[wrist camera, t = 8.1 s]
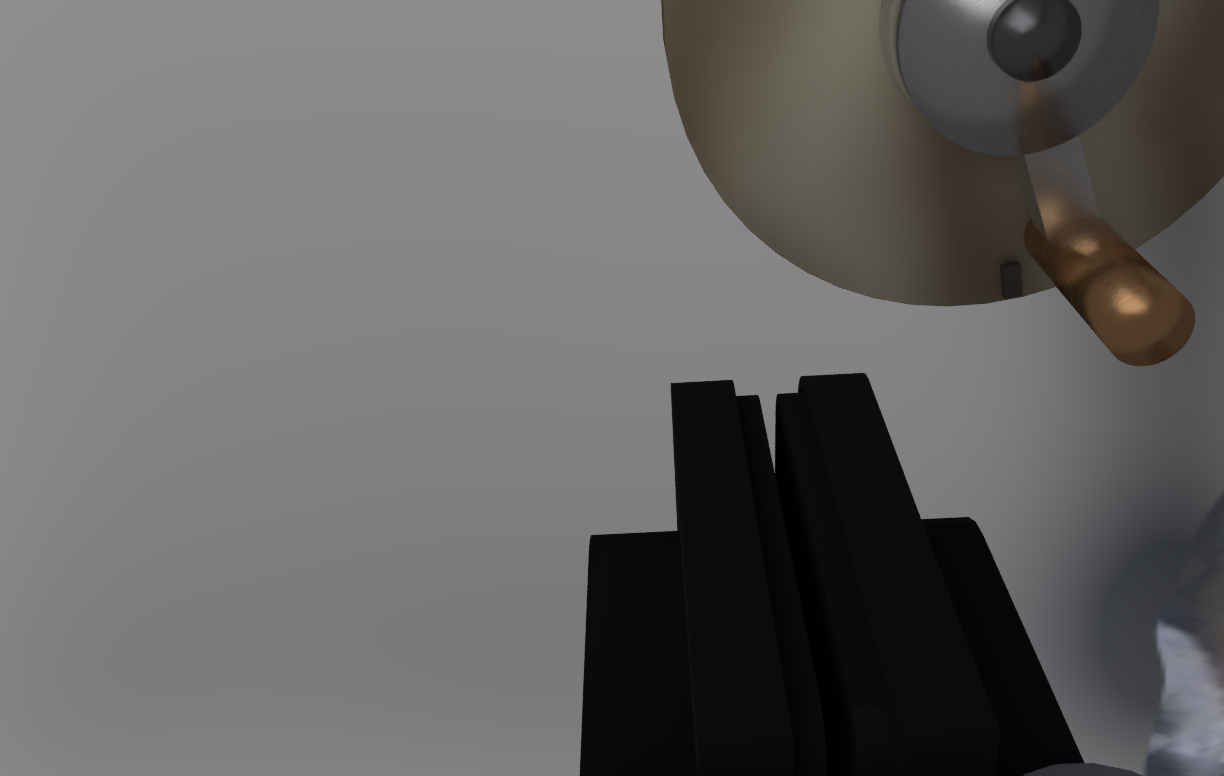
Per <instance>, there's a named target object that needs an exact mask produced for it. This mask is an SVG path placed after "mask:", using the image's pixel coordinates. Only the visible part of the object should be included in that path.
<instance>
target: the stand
mask: <svg viewBox="0 0 1224 776" xmlns="http://www.w3.org/2000/svg"><path fill="white" fill-rule="evenodd" d="M881 2H882V0H661V3H662V22H663V40H664V45H665V50H666V56H667V62H668V67H669V72H670V78H671V83H672V88H673V93H674V98H675V101H676V104H677V107H678V110H679V114H680V117H681V120H682V123H683V126H684V129H685V132H686V135H687V137H688V139H689V141H690V144H691V146H692V148H693V150H694V152H695V154H696V156H697V158H698V160H699V162H700V164H701V166H702V168H703V170H704V172H705V173H706V175H707V177H708V178H709V180H710V181H711V182H712V184H713V186H714V187H715V189H716V190H717V192H718V193H719V195H720V196H721V197H722V199H723V201H724V202H725V203H726V204H727V205H728V207H729V208H730V209H731V210H732V211H733V212H734V213H735V215H736V216H737V217H738V218H739V219H740V220H741V221H742V222H743V223H744V225H745V226H746V227H747V228H748V229H749V230H750V231H751V232H752V233H754V234H755V235H756V236H757V237H758V238H759V239H761V240H762V241H763V242H764V243H765V244H766V245H768V246H769V247H770V248H771V249H772V250H774V251H775V252H776V253H777V254H779V255H780V256H782V257H783V258H785V259H787V260H788V261H790V262H791V263H793V264H795V265H796V266H798V267H799V268H801V269H803V270H804V271H806V272H807V273H809V274H812V275H814V276H816V277H818V278H820V279H822V280H824V281H827V282H829V283H831V284H833V285H835V286H838V287H840V288H843V289H846V290H849V291H853V292H856V293H859V294H862V295H866V296H869V297H872V298H876V299H882V300H889V301H893V302H899V303H905V304H913V305H932V306H958V305H972V304H986V303H991V302H996V301H1002V300H1007V299H1012V298H1018V297H1024V296H1027V295H1030V294H1033V293H1037V292H1040V291H1043V290H1047V289H1050V288H1053V287H1056V286H1055V285H1054V283H1053V282H1052V281H1051V280H1050V279H1049V277H1048V276H1047V275H1046V274H1045V273H1044V272H1043V270H1042V269H1041V268H1040V267H1039V266H1038V264H1037V263H1036V262H1035V261H1034V260H1033V258H1032V257H1031V256H1030V255H1029V254H1028V252H1027V250H1026V248H1025V245H1024V231H1025V228H1026V225H1027V223H1028V221H1029V219H1030V218H1031V215H1030V211H1029V208H1028V204H1027V201H1026V197H1025V194H1024V190H1023V187H1022V183H1021V180H1020V176H1019V173H1018V169H1017V165H1016V162H1015V158H1014V156H1001V155H990V154H984V153H979V152H976V151H973V150H969V149H966V148H964V147H962V146H960V145H958V144H956V143H953V142H952V141H950V140H949V139H947V138H946V137H944V136H943V135H941V134H940V133H939V132H938V131H937V130H936V129H934V128H933V127H932V126H931V125H930V124H929V123H928V122H927V120H926V119H925V118H924V117H923V116H922V115H921V114H920V112H919V111H918V110H917V109H916V108H915V107H914V105H913V104H912V103H911V102H910V101H909V100H908V99H907V97H906V96H905V95H904V94H903V92H902V91H901V90H900V89H899V88H898V86H897V85H896V83H895V81H894V80H893V78H892V76H891V75H890V72H889V70H888V68H887V65H886V63H885V60H884V56H883V52H882V48H881V42H880V33H879V21H880V9H881ZM1079 136H1080V140H1081V144H1082V148H1083V152H1084V156H1085V160H1086V164H1087V168H1088V172H1089V176H1090V180H1091V184H1092V188H1093V192H1094V196H1095V200H1096V204H1097V208H1098V212H1099V216H1100V217H1101V218H1102V219H1103V220H1104V221H1105V222H1106V223H1107V224H1108V225H1109V226H1110V227H1111V228H1112V229H1113V230H1114V231H1115V232H1116V233H1118V234H1119V235H1120V236H1121V237H1122V238H1123V239H1124V240H1125V241H1126V242H1127V243H1128V244H1129V245H1130V246H1131V247H1132V248H1133V249H1134V250H1135V249H1136V248H1138V247H1139V246H1141V245H1142V244H1144V243H1145V242H1147V241H1148V240H1150V239H1151V238H1152V237H1154V236H1155V235H1157V234H1158V233H1160V232H1161V231H1162V230H1164V229H1165V228H1167V227H1168V226H1170V225H1171V224H1172V223H1174V222H1175V221H1176V220H1177V219H1178V218H1179V217H1181V216H1182V215H1183V214H1184V213H1185V212H1186V211H1188V210H1189V209H1190V208H1191V207H1192V206H1193V205H1195V204H1196V203H1197V202H1198V201H1199V200H1200V199H1201V198H1203V197H1204V196H1205V195H1206V194H1207V193H1208V192H1209V191H1210V190H1211V189H1212V188H1213V187H1214V185H1216V183H1217V182H1218V181H1219V180H1220V179H1221V178H1222V177H1223V176H1224V0H1159V16H1158V24H1157V29H1156V33H1155V37H1154V41H1153V44H1152V47H1151V50H1150V52H1149V55H1148V57H1147V60H1146V62H1145V64H1144V66H1143V68H1142V70H1141V71H1140V73H1139V75H1138V77H1137V79H1136V80H1135V82H1134V83H1133V85H1132V86H1131V87H1130V89H1129V90H1128V92H1127V93H1126V94H1125V95H1124V97H1123V98H1122V99H1121V100H1120V101H1119V103H1118V104H1117V105H1116V106H1115V107H1114V108H1113V109H1112V110H1111V111H1110V112H1109V113H1108V114H1107V115H1106V116H1105V117H1103V118H1102V119H1101V120H1100V121H1098V122H1097V123H1096V124H1095V125H1093V126H1092V127H1091V128H1089V129H1088V130H1086V131H1085V132H1083V133H1081V134H1080V135H1079Z"/></svg>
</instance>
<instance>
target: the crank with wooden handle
mask: <svg viewBox="0 0 1224 776" xmlns="http://www.w3.org/2000/svg"><path fill="white" fill-rule="evenodd" d="M1158 16H1159V0H882V2H881V9H880V21H879V33H880V42H881V48H882V52H883V56H884V60H885V63H886V65H887V68H888V70H889V72H890V75H891V76H892V78H893V80H894V81H895V83H896V85H897V86H898V88H899V89H900V90H901V91H902V92H903V94H904V95H905V96H906V97H907V99H908V100H909V101H910V102H911V103H912V104H913V105H914V107H915V108H916V109H917V110H918V111H919V112H920V114H921V115H922V116H923V117H924V118H925V119H926V120H927V122H928V123H929V124H930V125H931V126H932V127H933V128H934V129H936V130H937V131H938V132H939V133H940V134H941V135H943V136H944V137H946V138H947V139H949V140H950V141H952V142H953V143H956V144H958V145H960V146H962V147H964V148H966V149H969V150H973V151H976V152H979V153H984V154H990V155H1001V156H1014V158H1015V162H1016V165H1017V169H1018V173H1019V176H1020V180H1021V183H1022V187H1023V190H1024V194H1025V197H1026V201H1027V204H1028V208H1029V211H1030V215H1031V218H1030V219H1029V221H1028V223H1027V225H1026V228H1025V231H1024V245H1025V248H1026V250H1027V252H1028V254H1029V255H1030V256H1031V257H1032V258H1033V260H1034V261H1035V262H1036V263H1037V264H1038V266H1039V267H1040V268H1041V269H1042V270H1043V272H1044V273H1045V274H1046V275H1047V276H1048V277H1049V279H1050V280H1051V281H1052V282H1053V283H1054V285H1055V286H1056V287H1057V288H1058V289H1059V291H1060V292H1061V293H1062V294H1063V295H1064V296H1065V298H1066V299H1067V300H1068V301H1069V302H1070V304H1071V305H1072V306H1073V307H1074V308H1075V310H1076V311H1077V312H1078V313H1079V314H1080V316H1081V317H1082V318H1083V319H1084V320H1085V322H1086V323H1087V324H1088V325H1089V326H1090V327H1091V329H1092V330H1093V331H1094V332H1095V334H1096V335H1097V336H1098V337H1099V338H1100V339H1101V340H1102V342H1103V343H1104V344H1105V345H1106V347H1107V348H1108V349H1109V350H1110V351H1111V353H1112V354H1113V355H1114V356H1115V357H1116V358H1117V359H1118V360H1120V361H1121V362H1124V363H1126V364H1129V365H1133V366H1148V365H1153V364H1157V363H1160V362H1162V361H1164V360H1166V359H1168V358H1170V357H1171V356H1173V355H1174V354H1176V353H1177V352H1178V351H1179V350H1180V349H1181V348H1182V347H1183V346H1184V345H1185V344H1186V342H1187V341H1188V339H1189V338H1190V336H1191V334H1192V331H1193V328H1194V323H1195V314H1194V310H1193V307H1192V305H1191V304H1190V302H1189V301H1188V300H1187V299H1186V298H1185V297H1184V296H1183V295H1182V294H1181V293H1180V292H1179V291H1178V290H1177V289H1175V287H1174V286H1173V285H1171V284H1170V283H1169V282H1168V281H1167V280H1166V279H1165V278H1164V277H1163V276H1162V275H1161V274H1160V273H1159V272H1158V271H1157V270H1155V268H1154V267H1152V266H1151V265H1150V264H1149V263H1148V262H1147V261H1146V260H1145V259H1144V258H1143V257H1142V256H1141V255H1140V254H1139V253H1138V252H1136V251H1135V250H1134V249H1133V248H1132V247H1131V246H1130V245H1129V244H1128V243H1127V242H1126V241H1125V240H1124V239H1123V238H1122V237H1121V236H1120V235H1119V234H1118V233H1116V232H1115V231H1114V230H1113V229H1112V228H1111V227H1110V226H1109V225H1108V224H1107V223H1106V222H1105V221H1104V220H1103V219H1102V218H1101V217H1100V216H1099V212H1098V208H1097V204H1096V200H1095V196H1094V192H1093V188H1092V184H1091V180H1090V176H1089V172H1088V168H1087V164H1086V160H1085V156H1084V152H1083V148H1082V144H1081V140H1080V136H1079V135H1080V134H1081V133H1083V132H1085V131H1086V130H1088V129H1089V128H1091V127H1092V126H1093V125H1095V124H1096V123H1097V122H1098V121H1100V120H1101V119H1102V118H1103V117H1105V116H1106V115H1107V114H1108V113H1109V112H1110V111H1111V110H1112V109H1113V108H1114V107H1115V106H1116V105H1117V104H1118V103H1119V101H1120V100H1121V99H1122V98H1123V97H1124V95H1125V94H1126V93H1127V92H1128V90H1129V89H1130V87H1131V86H1132V85H1133V83H1134V82H1135V80H1136V79H1137V77H1138V75H1139V73H1140V71H1141V70H1142V68H1143V66H1144V64H1145V62H1146V60H1147V57H1148V55H1149V52H1150V50H1151V47H1152V44H1153V41H1154V37H1155V33H1156V29H1157V24H1158Z"/></svg>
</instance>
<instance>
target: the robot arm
mask: <svg viewBox="0 0 1224 776" xmlns="http://www.w3.org/2000/svg"><path fill="white" fill-rule="evenodd" d="M671 400H672V423H673V444H674V465H675V487H676V509H677V528H678V531H666V532H646V533H626V534H605V535H591V537H590V545H589V562H588V563H589V564H588V586H587V612H586V635H585V661H584V684H583V710H582V735H581V759H580V776H1143V775H1140V774H1138V773H1135V772H1133V771H1130V770H1125V769H1120V768H1115V767H1110V766H1105V765H1100V764H1095V763H1084V761H1083V759H1082V756H1081V754H1080V752H1079V750H1078V747H1077V745H1076V743H1075V741H1074V739H1073V736H1072V734H1071V732H1070V729H1069V727H1068V725H1067V723H1066V720H1065V719H1064V716H1063V714H1062V711H1061V709H1060V707H1059V705H1058V702H1057V700H1056V698H1055V696H1054V693H1053V691H1052V689H1051V687H1050V685H1049V682H1048V680H1047V678H1046V675H1045V673H1044V671H1043V669H1042V666H1041V664H1040V662H1039V660H1038V658H1037V655H1036V653H1035V651H1034V648H1033V646H1032V644H1031V642H1030V639H1029V637H1028V635H1027V633H1026V630H1025V628H1024V626H1023V624H1022V621H1021V619H1020V617H1019V615H1018V612H1017V610H1016V608H1015V606H1014V603H1013V601H1012V599H1011V597H1010V594H1009V592H1008V590H1007V588H1006V585H1005V583H1004V581H1003V579H1002V576H1001V575H1000V572H999V570H998V568H997V566H996V563H995V561H994V558H993V556H992V554H991V552H990V550H989V547H988V545H987V543H986V541H985V538H984V536H983V534H982V532H981V531H980V529H979V527H978V525H977V523H976V522H975V521H974V520H972V519H971V518H969V517H959V518H938V519H921V518H920V515H919V512H918V510H917V507H916V504H915V502H914V499H913V496H912V494H911V491H910V488H909V486H908V483H907V480H906V478H905V475H904V472H903V470H902V467H901V464H900V462H899V459H898V456H897V454H896V451H895V449H894V446H893V443H892V440H891V438H890V435H889V432H888V430H887V427H886V424H885V422H884V419H883V416H882V414H881V411H880V409H879V406H878V403H877V400H876V398H875V395H874V392H873V390H872V387H871V384H870V382H869V379H868V377H867V375H866V374H865V373H853V374H834V375H816V376H801V378H800V380H799V386H798V393H786V394H777V398H776V423H775V429H776V430H775V473H774V468H773V463H772V458H771V454H770V448H769V443H768V438H767V433H766V428H765V424H764V419H763V414H762V409H761V404H760V399H759V396H758V395H748V396H736V394H735V388H734V383H733V381H732V380H722V381H704V382H684V383H671Z"/></svg>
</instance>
